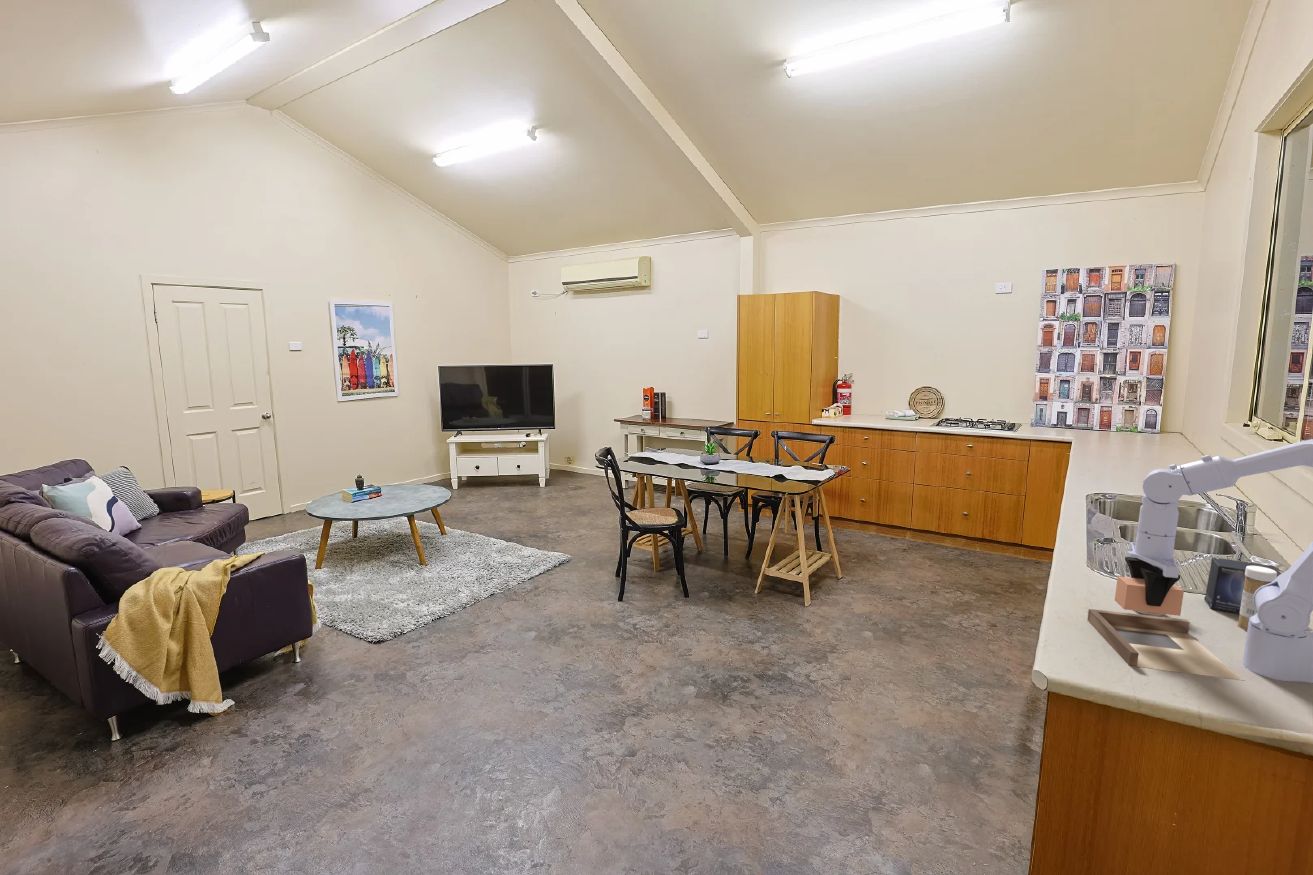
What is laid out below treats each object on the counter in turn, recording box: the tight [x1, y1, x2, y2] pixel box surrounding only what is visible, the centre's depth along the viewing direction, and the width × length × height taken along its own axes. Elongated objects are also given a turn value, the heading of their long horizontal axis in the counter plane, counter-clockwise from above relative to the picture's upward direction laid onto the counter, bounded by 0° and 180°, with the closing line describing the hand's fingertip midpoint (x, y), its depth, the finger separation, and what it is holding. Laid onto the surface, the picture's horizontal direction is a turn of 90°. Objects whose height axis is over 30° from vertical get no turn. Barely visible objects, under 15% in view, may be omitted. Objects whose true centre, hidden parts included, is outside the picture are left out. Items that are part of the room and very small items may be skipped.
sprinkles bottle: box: [1236, 566, 1277, 633], centre depth 125 cm, size 5×5×14 cm
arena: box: [1087, 608, 1245, 681], centre depth 117 cm, size 17×19×4 cm
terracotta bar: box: [1114, 576, 1185, 617], centre depth 119 cm, size 9×4×5 cm, turn 73°
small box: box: [1204, 556, 1282, 615], centre depth 136 cm, size 11×6×10 cm, turn 60°
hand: (1146, 599), depth 119 cm, fingers closed on terracotta bar, 4 cm apart
